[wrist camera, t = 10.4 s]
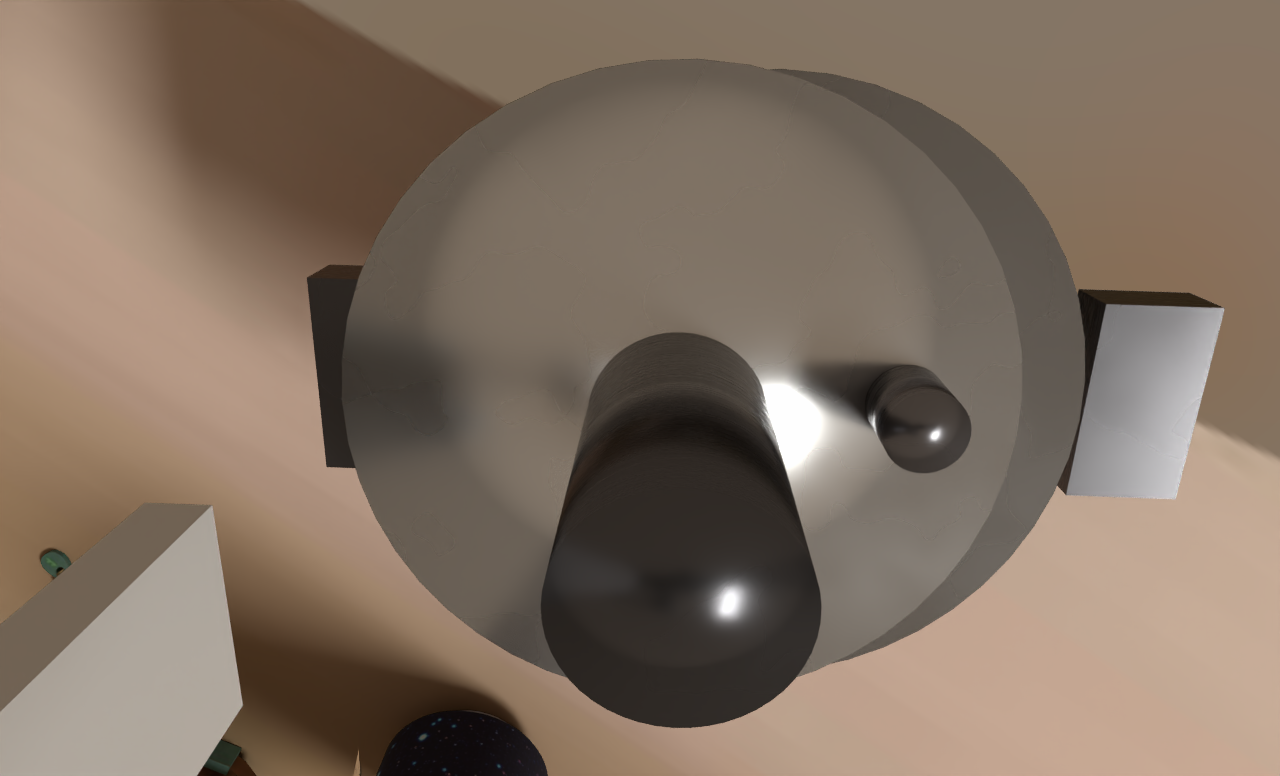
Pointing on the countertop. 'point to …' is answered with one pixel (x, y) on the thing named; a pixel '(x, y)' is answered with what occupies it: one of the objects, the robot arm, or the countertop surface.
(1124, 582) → the countertop surface
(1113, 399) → the pot
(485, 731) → the beverage can
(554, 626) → the lid
